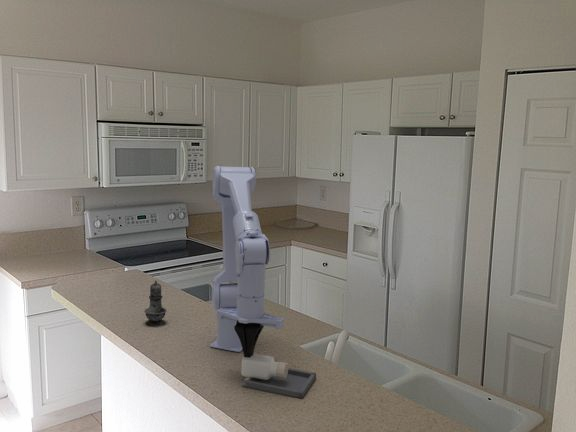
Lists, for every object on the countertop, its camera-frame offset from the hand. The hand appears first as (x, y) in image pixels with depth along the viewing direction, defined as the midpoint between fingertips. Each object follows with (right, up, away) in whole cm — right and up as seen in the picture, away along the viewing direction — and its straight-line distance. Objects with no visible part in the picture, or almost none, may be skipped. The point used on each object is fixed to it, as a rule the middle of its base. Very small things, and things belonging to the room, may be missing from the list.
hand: (248, 355), depth 114 cm
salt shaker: (-28, +1, +31) cm, 41 cm away
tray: (+7, -5, -1) cm, 9 cm away
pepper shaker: (-1, -2, 0) cm, 2 cm away
